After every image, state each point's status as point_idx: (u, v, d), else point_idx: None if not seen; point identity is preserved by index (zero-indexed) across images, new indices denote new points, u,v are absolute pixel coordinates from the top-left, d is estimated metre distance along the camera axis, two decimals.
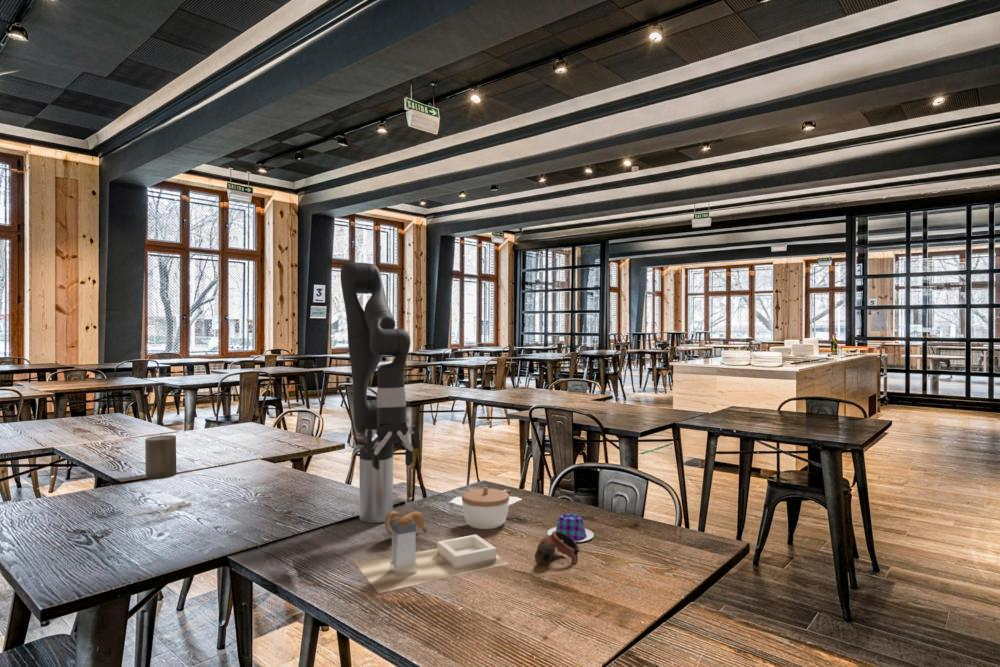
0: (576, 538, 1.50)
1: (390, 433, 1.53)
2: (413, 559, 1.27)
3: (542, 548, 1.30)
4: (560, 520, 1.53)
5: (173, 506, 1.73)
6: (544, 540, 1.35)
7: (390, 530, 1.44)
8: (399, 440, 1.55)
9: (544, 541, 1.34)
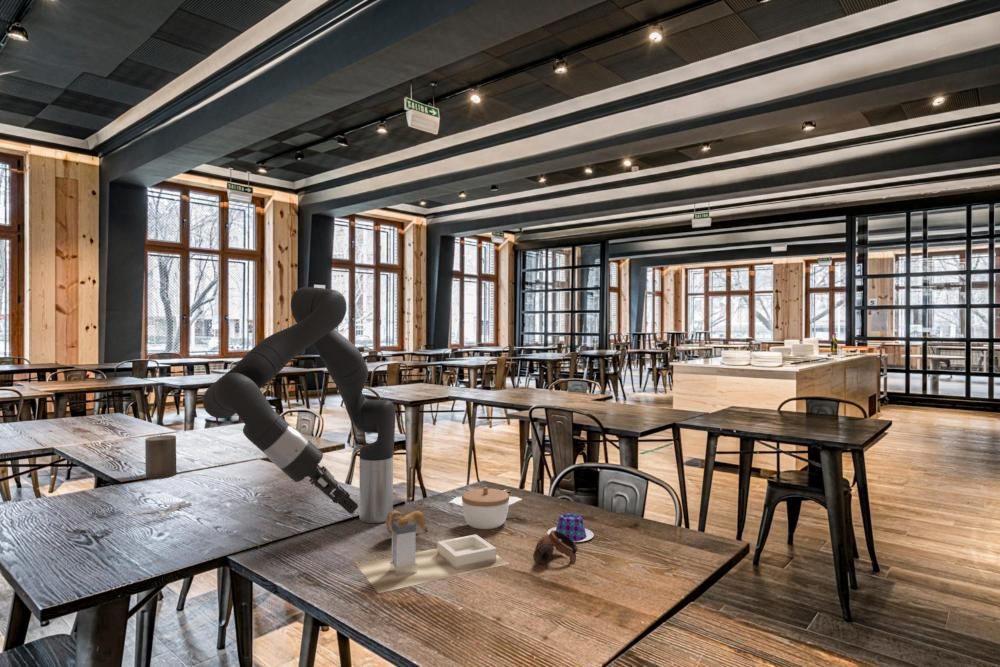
0: (575, 538, 1.50)
1: (311, 482, 1.20)
2: (413, 559, 1.27)
3: (540, 547, 1.30)
4: (560, 520, 1.53)
5: (173, 506, 1.73)
6: (542, 539, 1.35)
7: (391, 530, 1.44)
8: None
9: (542, 540, 1.35)
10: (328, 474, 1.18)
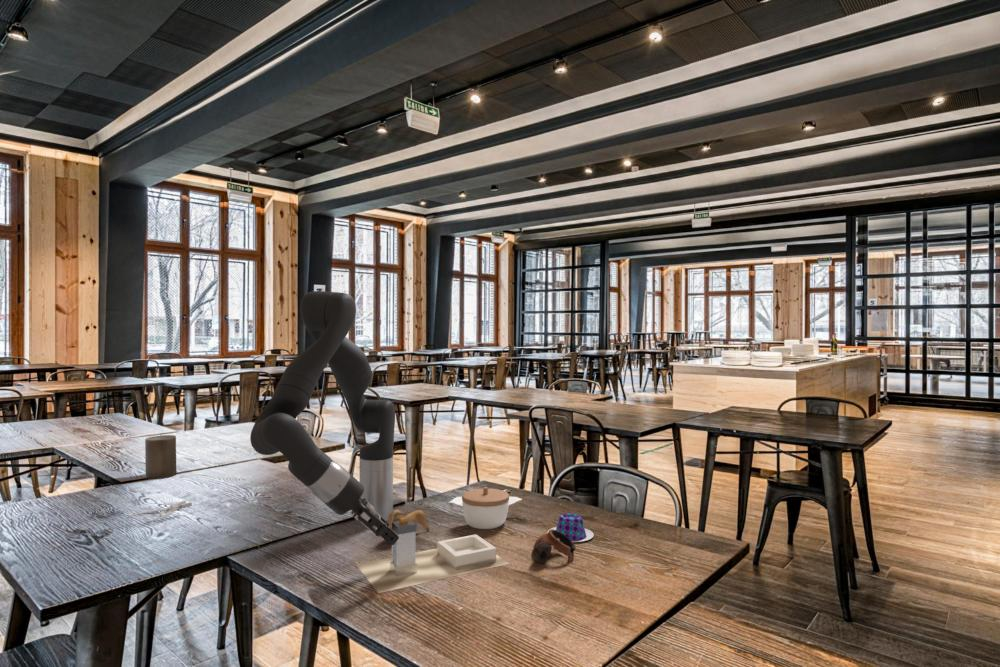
0: (575, 538, 1.50)
1: None
2: (413, 559, 1.27)
3: (539, 546, 1.31)
4: (559, 520, 1.53)
5: (174, 506, 1.73)
6: (540, 538, 1.36)
7: None
8: None
9: (540, 539, 1.35)
10: (369, 507, 1.22)
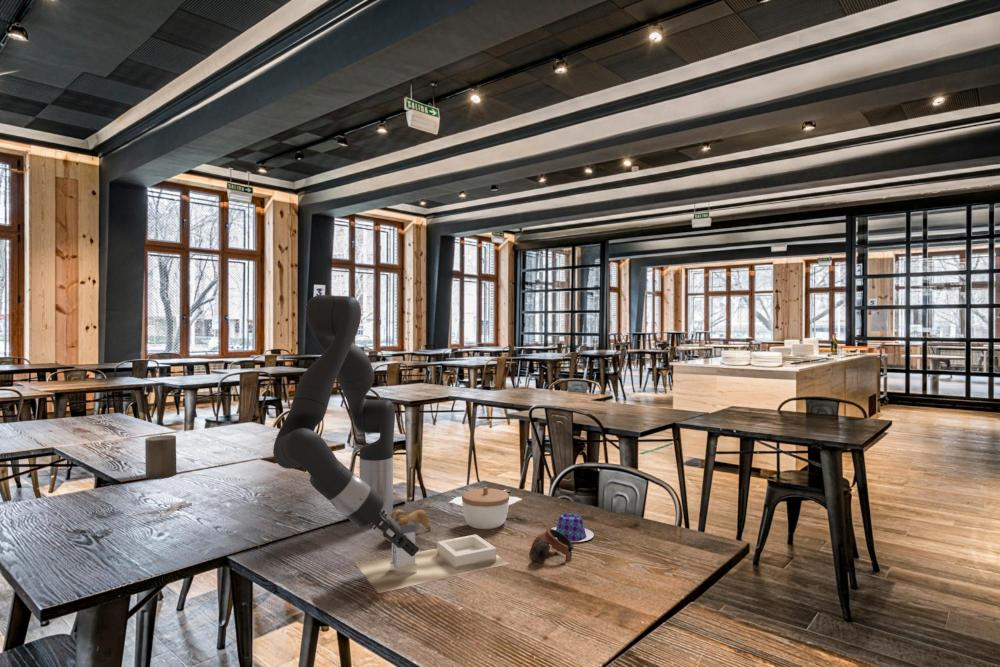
0: (574, 538, 1.50)
1: (372, 526, 1.26)
2: (413, 559, 1.27)
3: (537, 545, 1.32)
4: (559, 520, 1.53)
5: (174, 506, 1.73)
6: (538, 538, 1.36)
7: None
8: None
9: (538, 539, 1.36)
10: (390, 520, 1.24)
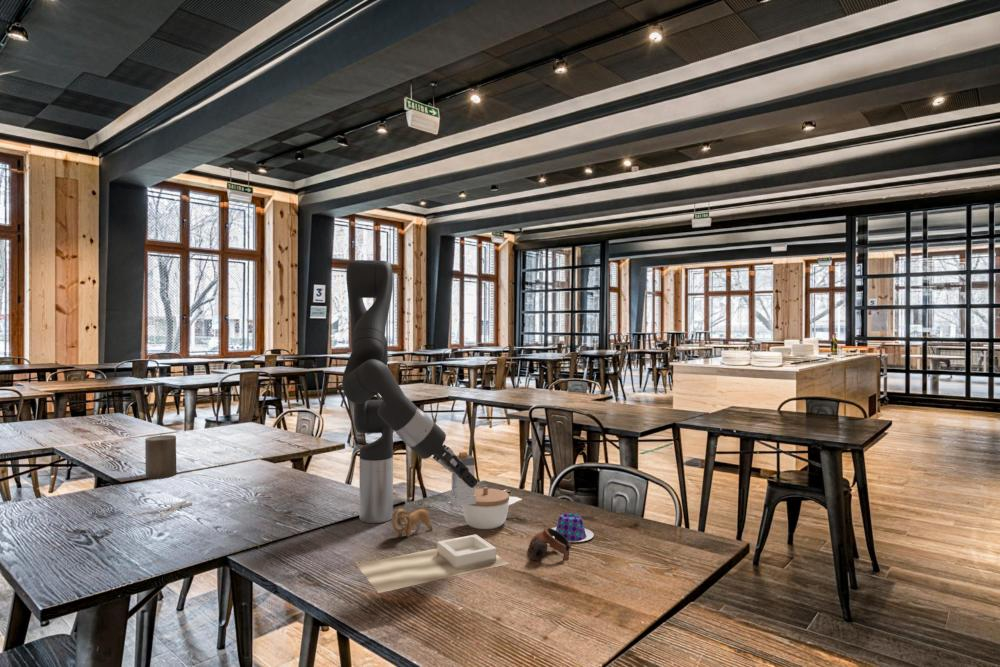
0: (573, 538, 1.50)
1: (434, 459, 1.32)
2: (472, 491, 1.33)
3: (535, 544, 1.32)
4: (559, 520, 1.53)
5: (174, 506, 1.73)
6: (536, 537, 1.37)
7: (398, 528, 1.45)
8: None
9: (536, 538, 1.36)
10: (452, 453, 1.31)
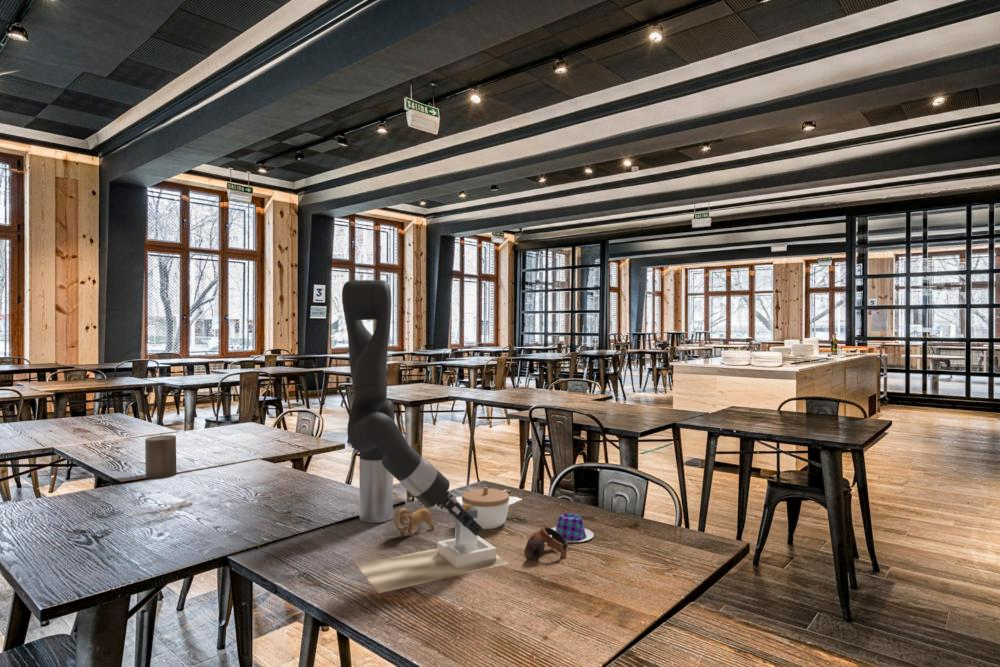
0: (572, 538, 1.50)
1: None
2: (475, 543, 1.34)
3: (532, 543, 1.33)
4: (559, 519, 1.53)
5: (175, 506, 1.73)
6: (533, 536, 1.37)
7: (400, 527, 1.46)
8: None
9: (534, 537, 1.37)
10: (455, 500, 1.31)
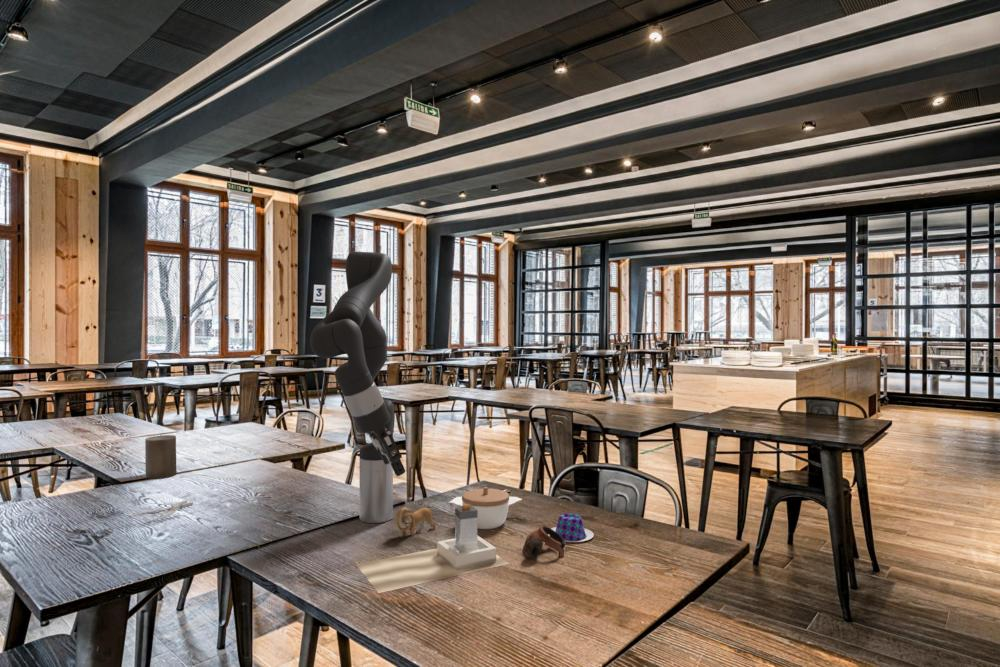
0: (571, 538, 1.50)
1: (370, 437, 1.32)
2: (475, 543, 1.34)
3: (530, 543, 1.33)
4: (558, 519, 1.54)
5: (175, 505, 1.73)
6: (531, 535, 1.38)
7: (402, 526, 1.46)
8: None
9: (532, 536, 1.38)
10: None
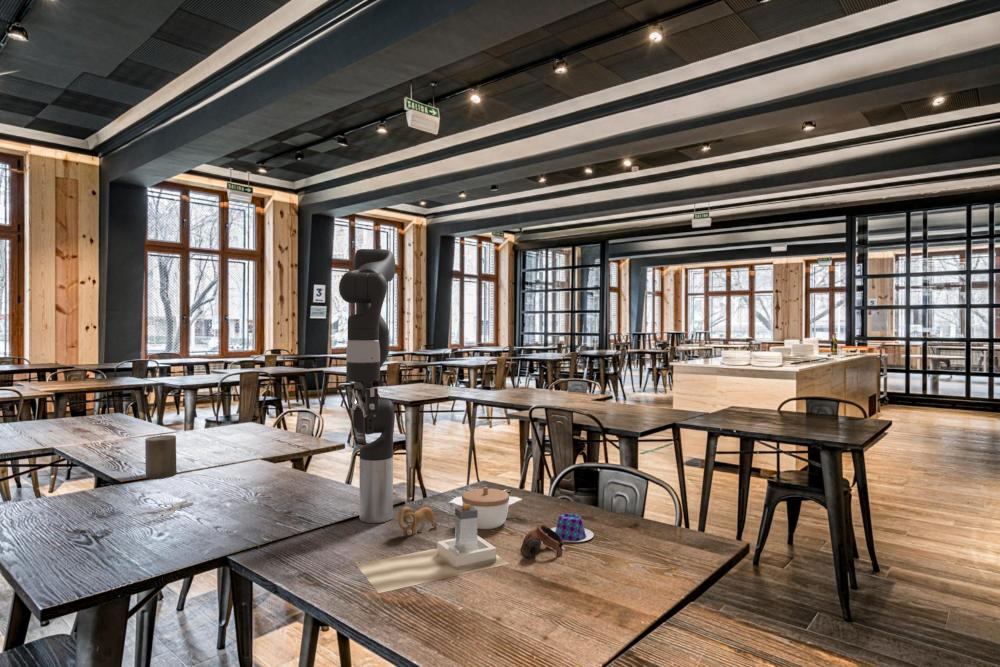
0: (571, 538, 1.50)
1: (353, 391, 1.36)
2: (475, 543, 1.34)
3: (529, 542, 1.34)
4: (558, 519, 1.54)
5: (175, 505, 1.73)
6: (530, 534, 1.38)
7: (403, 525, 1.47)
8: None
9: (530, 535, 1.38)
10: None
